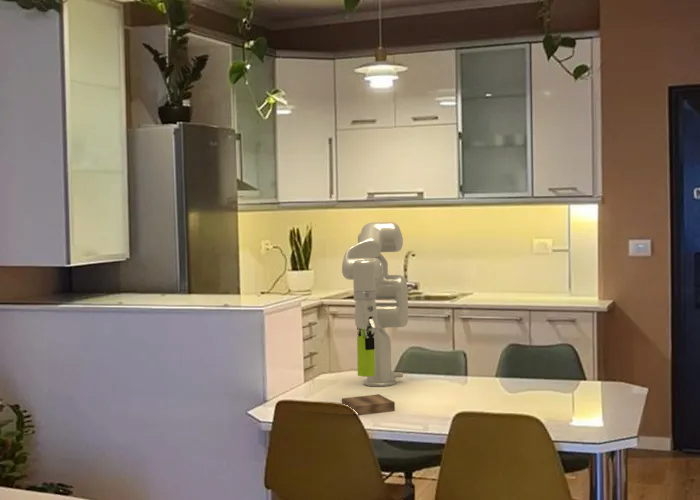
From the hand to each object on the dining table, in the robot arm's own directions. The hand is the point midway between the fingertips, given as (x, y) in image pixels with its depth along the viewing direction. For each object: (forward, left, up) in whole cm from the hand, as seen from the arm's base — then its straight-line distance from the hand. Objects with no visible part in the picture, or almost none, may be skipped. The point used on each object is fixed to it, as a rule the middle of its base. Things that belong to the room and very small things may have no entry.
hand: (366, 347), depth 307 cm
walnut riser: (0, 0, -21) cm, 21 cm away
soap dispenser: (0, 0, -10) cm, 10 cm away
